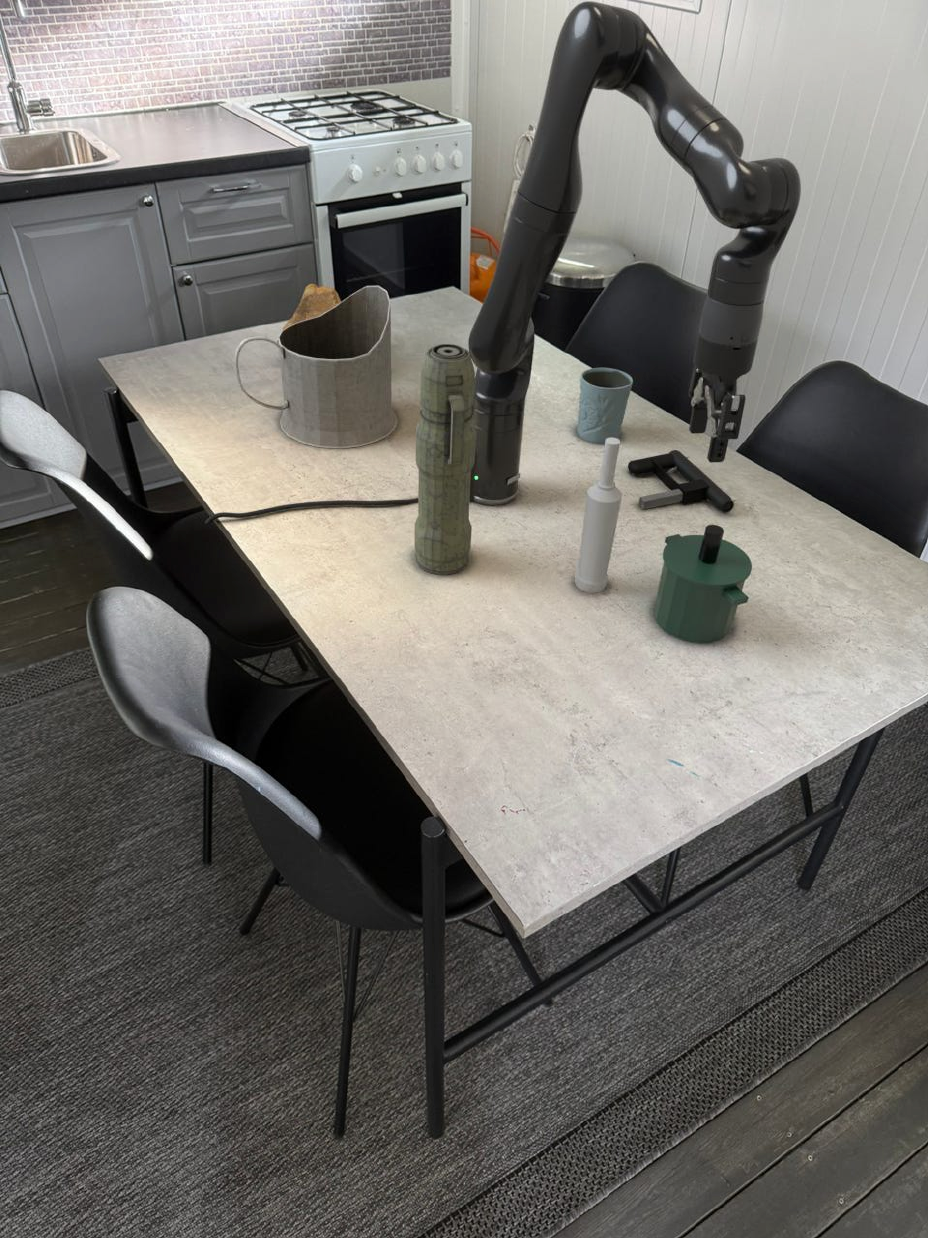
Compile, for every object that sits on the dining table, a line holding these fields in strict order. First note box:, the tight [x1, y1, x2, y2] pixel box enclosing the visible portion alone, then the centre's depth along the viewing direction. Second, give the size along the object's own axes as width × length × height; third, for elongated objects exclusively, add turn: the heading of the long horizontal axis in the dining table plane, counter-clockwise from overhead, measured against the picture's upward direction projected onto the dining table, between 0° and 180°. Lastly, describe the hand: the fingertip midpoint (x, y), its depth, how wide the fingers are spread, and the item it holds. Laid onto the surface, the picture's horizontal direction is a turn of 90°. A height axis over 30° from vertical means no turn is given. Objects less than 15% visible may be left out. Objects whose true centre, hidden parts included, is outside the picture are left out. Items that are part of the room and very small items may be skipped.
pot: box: [653, 533, 750, 644], centre depth 134 cm, size 12×17×10 cm
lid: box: [662, 524, 753, 588], centre depth 129 cm, size 13×13×6 cm
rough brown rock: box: [276, 283, 342, 344], centre depth 200 cm, size 23×17×15 cm
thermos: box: [414, 343, 476, 576], centre depth 136 cm, size 9×12×35 cm
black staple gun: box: [627, 449, 736, 514], centre depth 166 cm, size 3×20×16 cm
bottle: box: [574, 438, 623, 594], centre depth 135 cm, size 5×5×25 cm
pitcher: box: [233, 285, 398, 449], centre depth 174 cm, size 23×32×25 cm
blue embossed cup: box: [576, 367, 634, 445], centre depth 180 cm, size 10×10×12 cm
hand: (705, 446), depth 126 cm, fingers open, 8 cm apart
